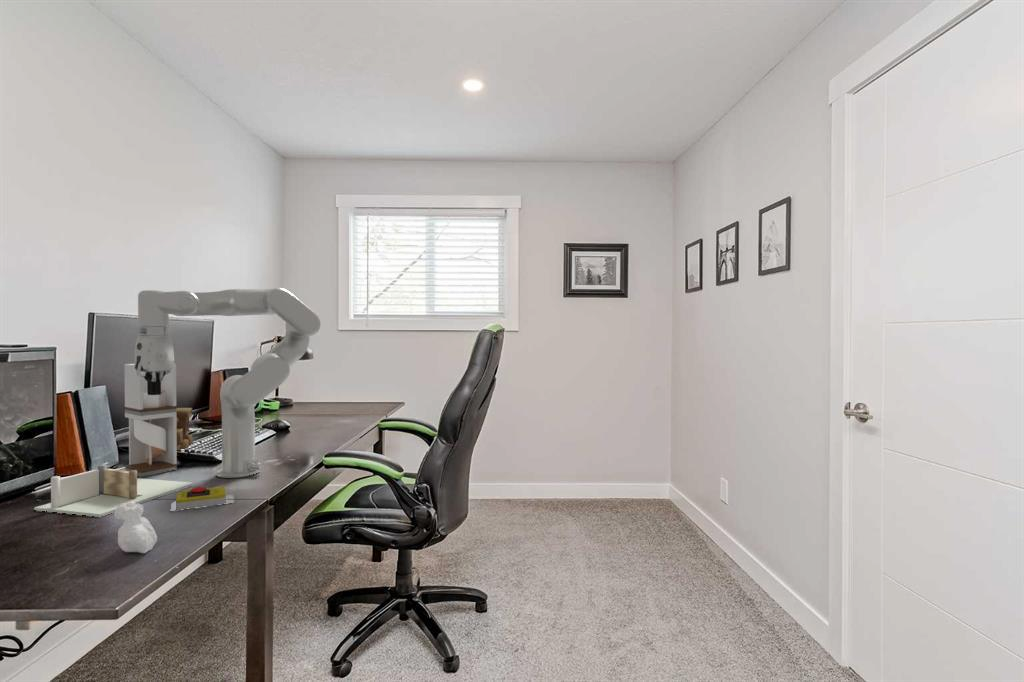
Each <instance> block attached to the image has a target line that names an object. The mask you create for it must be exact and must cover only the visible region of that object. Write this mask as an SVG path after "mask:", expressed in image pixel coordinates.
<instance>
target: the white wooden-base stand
mask: <svg viewBox="0 0 1024 682" xmlns="http://www.w3.org/2000/svg"><path fill="white" fill-rule="evenodd" d="M136 373H137V370H135V366H134V363H125V364H124V417H125V418H128V460H129V462H128V464H126V465H125V466H124V471H132V470H137V477H139V476H140V477H139V478H143V477H147V476H146V475H148V476H152V475H151V474H153V475H158V474H157V473H159V474H163V473H162V472H164V473H168V472H167V471H169V472H173V471H172V470H174V471H178V464H177V463H178V458H177V456H178V455H177V417H176V408H177V364H176V363H174V368H173V369H172V370H171V372H170V373H169V374H166V375H165V376H164V377H163V380H162V381H161V394H160V395H148V394H147V382H146V381H145V378H144V377H143V376H137V375H136ZM142 476H143V477H142Z"/></svg>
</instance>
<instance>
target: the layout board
mask: <svg viewBox="0 0 1024 682" xmlns="http://www.w3.org/2000/svg"><path fill="white" fill-rule="evenodd" d="M191 485H194V486H195V482H191V481H190V482H189V481H178V480H177V481H176V480H164V479H163V480H162V479H151V478H141V477H139V478H138V477H137V497H136V498H128V497H122V496H116V495H110V494H99V495H96V496H93V497H90V498H86V499H83V500H80V501H76V502H73V503H70V504H66V505H63V506H60V507H58V508H51V502H49V503H46V504H42V505H39V506H35V507H33V510H36V511H35V512H42V511H45V513H52V512H57V513H56V514H62V513H66V514H65V515H72V514H76V515H75V516H82V515H86V516H85V517H92V516H94V518H103V517H106V516H108V514H109V515H111V513H112V514H114V512H115V510H116V509H117V507H118V506H119V505H120V504H123V503H127V502H130V501H132V502H133V501H135V503H136V504H137V503H139V504H140V503H141V504H144V503H147V502H150V501H153V500H155V499H154V498H156V499H158V498H157V497H159V498H160V496H162V497H164V496H163V495H165V496H167V495H169V493H170V494H173V493H176V492H178V491H177V490H179V491H181V490H180V489H182V490H184V489H183V488H185V489H187V488H186V487H188V488H190V487H189V486H191ZM191 487H192V486H191ZM175 491H176V492H175ZM172 492H173V493H172ZM166 494H167V495H166ZM152 499H153V500H152ZM149 500H150V501H149ZM146 501H147V502H146ZM143 502H144V503H143ZM141 504H140V505H141ZM46 511H47V512H46ZM105 515H106V516H105ZM102 516H103V517H102Z"/></svg>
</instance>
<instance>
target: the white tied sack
mask: <svg viewBox="0 0 1024 682" xmlns="http://www.w3.org/2000/svg"><path fill="white" fill-rule="evenodd" d="M143 512H144V505H142V504H139V503H137V504H136V503H135V501H133V502H132V501H130V502H127V503H123V504H120V505H119V506H118V507H117V509H116V510H115V513H113V514H114V515H113V516H114V518H115V519H116V520H123V524H122V525H121V526H120V527H119V528H118V531H117V537H118V538H117V544H118V546H119V547H120V549H121V550H122V551H123V552H124V553H140V554H147V553H148V552H149V551H152V550H153V548H154V546H155V545H156V543H157V541H158V536H157V533H156V531H155V528H154V527H153V526H152V524H151V522H150V521H149V520H148V518H146V517H144V516H142V515H143V514H144V513H143Z"/></svg>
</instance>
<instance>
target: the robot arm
mask: <svg viewBox="0 0 1024 682" xmlns="http://www.w3.org/2000/svg"><path fill="white" fill-rule="evenodd" d="M169 315H173V316H176V317H195V316H196V317H198V316H202V317H203V316H204V317H205V316H223V317H240V316H241V317H242V316H266V315H267V316H271V315H277V316H278V317H279V318H281V320H283V321H285V335H284V337H283V338H282V339H281V341H279V342H277V344H275V346H273V347H272V348H270V349H269V350H268V351H266V352H265V353H264V354H262V355H261V356H259V357H257V358H256V359H255V360H254V361H253V363H252V365H251V367H250V370H249V371H247V372H246V373H245V374H244V375H242V374H241V375H239V374H234V375H231V376H229V377H227V378H226V379H225V380H224V381H223V383H222V384H221V386H220V389H219V391H220V392H219V398H220V406H221V409H220V410H221V468H220V469H218V470H217V471H216V473H215V475H216V476H217V477H218V478H222V479H233V478H234V479H235V478H236V479H237V478H245V477H250V476H254V475H256V473H257V474H259V473H258V472H261V471H262V470H263V468H264V466H265V463H264V462H258V461H259V459H258V458H257V457H256V443H255V442H256V431H255V429H256V426H255V425H256V415H255V414H256V413H255V405H257V404H258V403H260V402H261V401H262V400H264V399H265V398H266V397H268V396H269V395H271V394H272V393H273V392H274V391H275V390H276V389H278V388H280V386H282V384H284V383H285V382H286V381H287V379H288V377H289V375H290V373H291V372H290V371H291V367H292V366H293V365H294V364H296V363H297V362H298V361H299V360H300V359H301V358H302V357H303V356H304V355H305V353H307V350H308V348H309V343H310V337H311V336H315V335H316V334H317V333H318V332H319V330H320V328H321V319H320V317H319V315H318V314H317V313H316V312H315V311H313V310H312V308H310V307H309V306H307V304H305V303H304V302H303V301H301V299H299V298H298V297H297V296H295V295H294V294H293V293H292V292H290V291H289V290H287V289H285V288H283V287H282V288H281V287H275V288H256V289H255V288H251V289H250V288H248V289H247V288H244V289H243V288H237V289H236V288H234V289H232V288H231V289H230V288H229V289H225V290H224V289H223V290H219V291H209V292H208V291H207V292H206V291H205V292H203V291H202V292H201V291H200V292H191V291H188V290H175V291H162V290H154V289H153V290H149V289H147V290H145V289H144V290H141V291H140V292H138V294H137V322H138V323H137V325H138V328H137V329H136V333H137V334H138V337H136V341H135V347H134V354H133V355H134V359H133V360H134V362H133V364H134V366H135V370H137V373H136V375H137V376H143V377H144V378H145V381H146V382H147V394H148V395H160V394H161V381H162V380H163V377H164V376H165V375H166V374H169V373H170V372H171V370H172V369H173V368H174V364H175V352H174V351H175V350H174V345H173V340H172V337H170V333H169V331H170V329H169V326H170V325H169V323H170V321H169V319H170V318H169ZM253 474H254V475H253ZM249 475H250V476H249Z"/></svg>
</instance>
